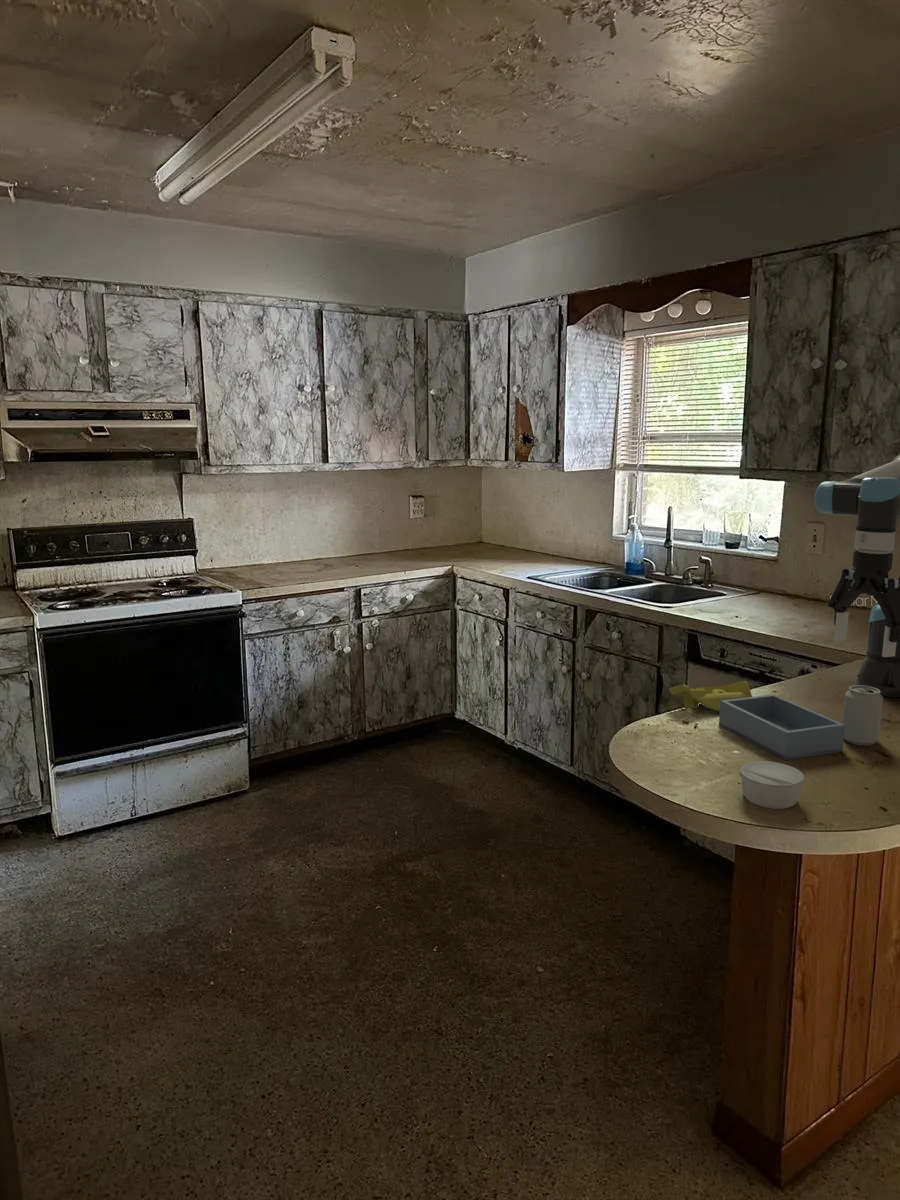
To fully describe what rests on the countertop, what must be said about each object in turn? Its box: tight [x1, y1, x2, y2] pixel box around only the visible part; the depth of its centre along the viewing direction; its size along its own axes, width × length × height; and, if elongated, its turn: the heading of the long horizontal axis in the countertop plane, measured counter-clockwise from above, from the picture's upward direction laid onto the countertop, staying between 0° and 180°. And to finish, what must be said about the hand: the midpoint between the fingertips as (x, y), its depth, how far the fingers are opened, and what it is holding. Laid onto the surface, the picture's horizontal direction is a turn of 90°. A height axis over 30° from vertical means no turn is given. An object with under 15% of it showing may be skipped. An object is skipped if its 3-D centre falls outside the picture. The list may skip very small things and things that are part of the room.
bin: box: [718, 693, 845, 761], centre depth 186 cm, size 15×22×6 cm
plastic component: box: [668, 680, 753, 712], centre depth 207 cm, size 20×7×10 cm
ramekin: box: [739, 760, 805, 810], centre depth 155 cm, size 11×11×5 cm
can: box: [841, 685, 884, 746], centre depth 184 cm, size 8×8×12 cm
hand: (863, 648), depth 181 cm, fingers open, 13 cm apart
